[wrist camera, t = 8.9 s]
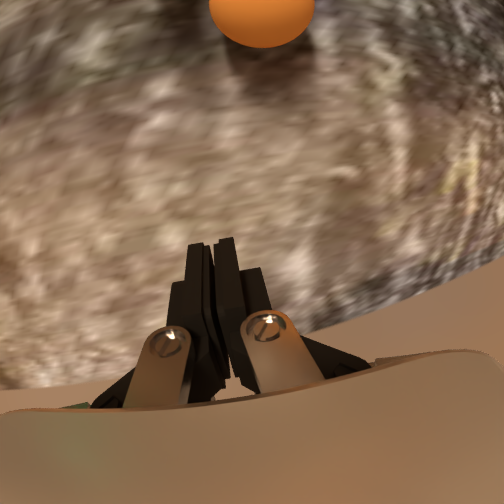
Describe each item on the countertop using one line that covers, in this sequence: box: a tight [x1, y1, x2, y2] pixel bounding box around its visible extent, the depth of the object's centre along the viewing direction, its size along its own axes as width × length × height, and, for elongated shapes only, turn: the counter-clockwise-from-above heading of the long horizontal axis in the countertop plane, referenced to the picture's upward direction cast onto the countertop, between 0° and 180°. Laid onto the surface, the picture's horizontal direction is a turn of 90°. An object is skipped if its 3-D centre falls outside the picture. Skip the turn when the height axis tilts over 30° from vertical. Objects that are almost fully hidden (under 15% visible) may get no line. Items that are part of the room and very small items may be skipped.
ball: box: [209, 0, 314, 48], centre depth 14 cm, size 6×6×6 cm
